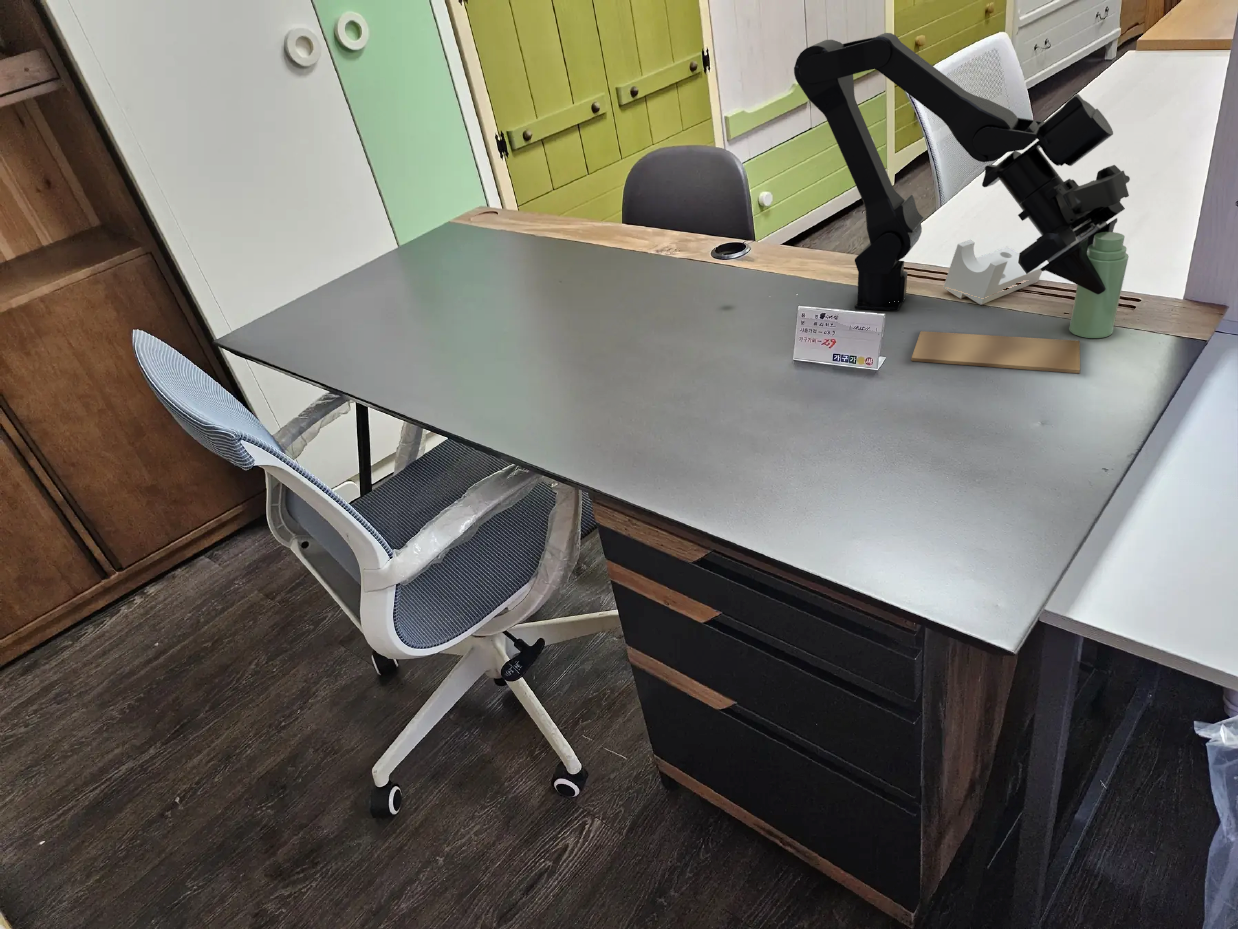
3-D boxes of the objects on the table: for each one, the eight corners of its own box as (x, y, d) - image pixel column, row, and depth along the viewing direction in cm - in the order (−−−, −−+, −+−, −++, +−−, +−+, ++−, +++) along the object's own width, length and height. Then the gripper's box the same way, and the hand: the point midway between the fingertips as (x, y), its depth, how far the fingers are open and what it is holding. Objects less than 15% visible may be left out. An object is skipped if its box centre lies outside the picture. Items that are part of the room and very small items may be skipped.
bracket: (978, 310, 127) (995, 265, 121) (943, 287, 131) (957, 243, 126) (1035, 286, 132) (1054, 243, 126) (999, 265, 136) (1016, 222, 131)
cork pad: (911, 361, 113) (911, 357, 113) (920, 334, 120) (920, 330, 119) (1079, 373, 105) (1080, 369, 105) (1079, 344, 112) (1079, 340, 111)
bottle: (1069, 336, 114) (1086, 241, 107) (1069, 321, 117) (1086, 229, 111) (1113, 339, 111) (1133, 242, 105) (1111, 324, 115) (1131, 229, 109)
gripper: (1058, 166, 100) (1139, 272, 98) (1122, 133, 110) (1197, 229, 108) (986, 224, 109) (1059, 321, 108) (1051, 188, 119) (1119, 277, 118)
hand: (1111, 285), depth 110 cm, fingers closed on bottle, 5 cm apart
